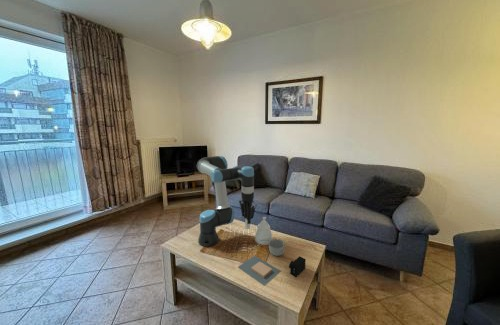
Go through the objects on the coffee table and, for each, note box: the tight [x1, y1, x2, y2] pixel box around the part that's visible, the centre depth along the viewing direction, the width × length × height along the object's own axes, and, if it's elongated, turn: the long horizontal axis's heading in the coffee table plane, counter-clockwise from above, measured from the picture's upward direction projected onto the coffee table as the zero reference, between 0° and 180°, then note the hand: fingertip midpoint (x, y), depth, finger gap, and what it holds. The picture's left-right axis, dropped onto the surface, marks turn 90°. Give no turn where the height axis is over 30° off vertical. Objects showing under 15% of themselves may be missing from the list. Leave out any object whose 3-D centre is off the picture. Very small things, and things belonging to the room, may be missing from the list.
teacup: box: [268, 237, 285, 257], centre depth 145 cm, size 14×11×8 cm
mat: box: [237, 255, 282, 286], centre depth 128 cm, size 22×16×1 cm
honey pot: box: [254, 216, 273, 246], centre depth 159 cm, size 13×13×18 cm
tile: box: [251, 262, 272, 278], centre depth 127 cm, size 2×8×10 cm
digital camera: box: [288, 255, 306, 278], centre depth 127 cm, size 10×5×7 cm, turn 136°
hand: (247, 227), depth 131 cm, fingers closed
